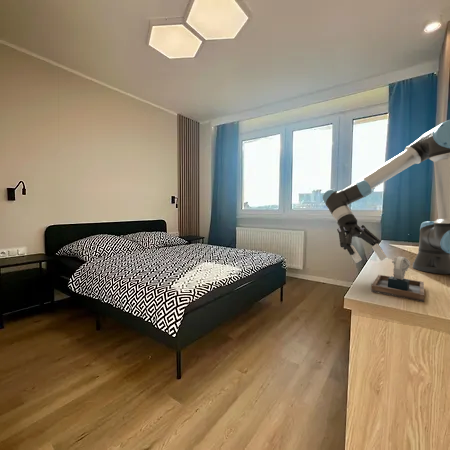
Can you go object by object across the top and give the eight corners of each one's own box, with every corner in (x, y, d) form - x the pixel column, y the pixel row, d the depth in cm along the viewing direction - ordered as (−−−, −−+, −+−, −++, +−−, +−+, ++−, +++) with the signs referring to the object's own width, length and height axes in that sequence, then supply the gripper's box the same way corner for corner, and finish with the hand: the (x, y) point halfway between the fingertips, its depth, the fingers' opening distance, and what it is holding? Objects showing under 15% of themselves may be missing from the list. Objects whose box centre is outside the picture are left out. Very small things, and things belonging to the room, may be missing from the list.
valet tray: (378, 279, 98) (378, 274, 98) (423, 287, 89) (423, 281, 89) (371, 291, 84) (371, 285, 83) (423, 302, 75) (424, 295, 75)
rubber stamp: (410, 287, 87) (412, 256, 86) (405, 292, 81) (408, 259, 80) (391, 283, 91) (393, 254, 90) (386, 287, 85) (388, 256, 84)
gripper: (359, 222, 116) (386, 262, 104) (317, 224, 107) (341, 267, 96) (371, 212, 110) (400, 253, 98) (327, 213, 102) (354, 257, 90)
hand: (371, 260), depth 97 cm, fingers open, 13 cm apart
